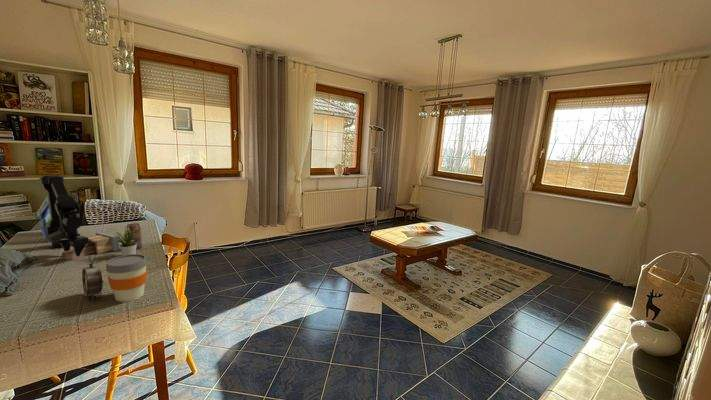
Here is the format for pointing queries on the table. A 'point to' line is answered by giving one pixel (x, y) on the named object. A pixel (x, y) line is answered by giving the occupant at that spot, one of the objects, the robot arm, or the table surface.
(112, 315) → the table surface
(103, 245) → the block
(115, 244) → the backstop
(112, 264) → the reusable coffee cup
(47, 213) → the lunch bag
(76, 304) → the table surface
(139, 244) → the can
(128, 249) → the house plant
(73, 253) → the peg
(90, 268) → the alarm clock
